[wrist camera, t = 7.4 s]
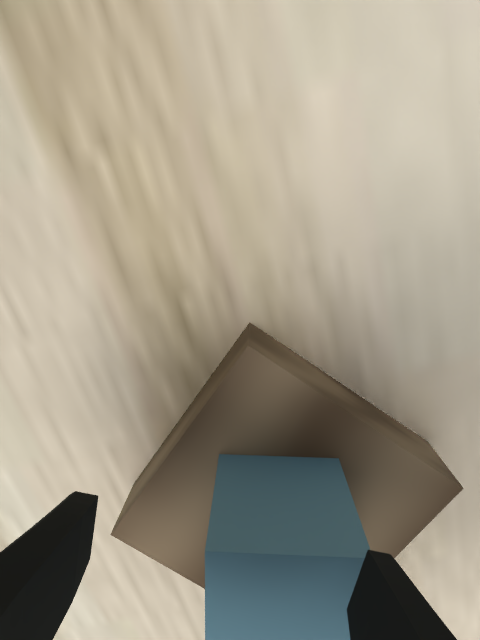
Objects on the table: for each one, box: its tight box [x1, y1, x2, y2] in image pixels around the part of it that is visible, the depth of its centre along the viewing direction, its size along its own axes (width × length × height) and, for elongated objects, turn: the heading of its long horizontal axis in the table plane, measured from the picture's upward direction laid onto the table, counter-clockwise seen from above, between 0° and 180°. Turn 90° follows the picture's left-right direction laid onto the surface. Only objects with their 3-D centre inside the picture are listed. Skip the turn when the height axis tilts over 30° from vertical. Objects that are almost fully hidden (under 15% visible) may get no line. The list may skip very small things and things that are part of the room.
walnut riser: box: [111, 323, 463, 589], centre depth 19 cm, size 11×11×4 cm
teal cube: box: [205, 454, 370, 640], centre depth 15 cm, size 5×5×5 cm
